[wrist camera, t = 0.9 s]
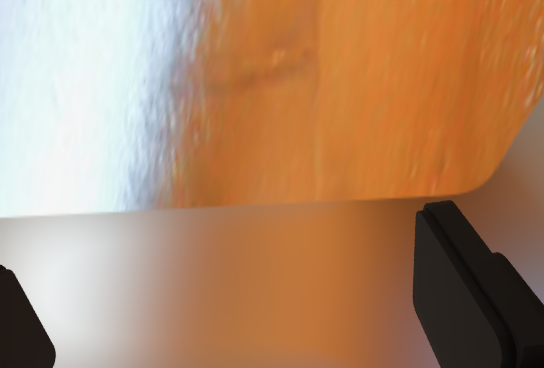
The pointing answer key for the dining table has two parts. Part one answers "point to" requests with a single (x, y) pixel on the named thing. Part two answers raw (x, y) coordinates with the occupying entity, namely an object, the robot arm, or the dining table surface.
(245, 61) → the dining table surface
